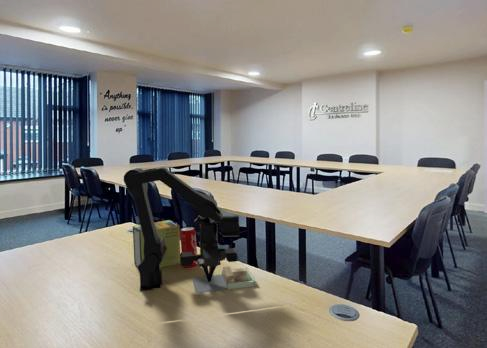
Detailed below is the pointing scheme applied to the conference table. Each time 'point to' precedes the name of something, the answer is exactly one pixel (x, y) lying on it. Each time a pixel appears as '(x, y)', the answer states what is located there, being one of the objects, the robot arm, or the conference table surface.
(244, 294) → the conference table surface
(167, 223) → the protein box
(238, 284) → the platform with raised edges
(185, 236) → the beverage can
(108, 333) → the conference table surface
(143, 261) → the robot arm
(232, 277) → the t block
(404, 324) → the conference table surface
